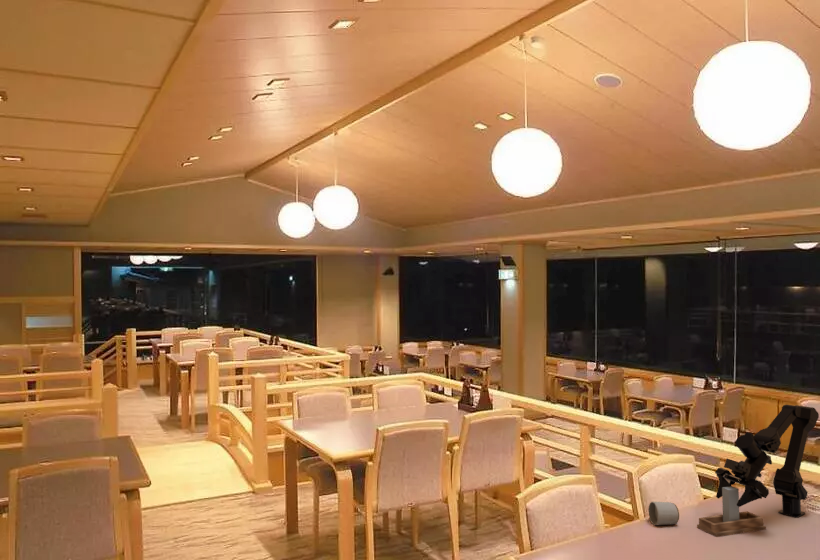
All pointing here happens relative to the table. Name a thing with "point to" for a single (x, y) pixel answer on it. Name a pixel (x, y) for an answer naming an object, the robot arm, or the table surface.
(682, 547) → the table surface
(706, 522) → the open rectangular wooden box
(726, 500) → the tall grey pillar block
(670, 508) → the ceramic mug
